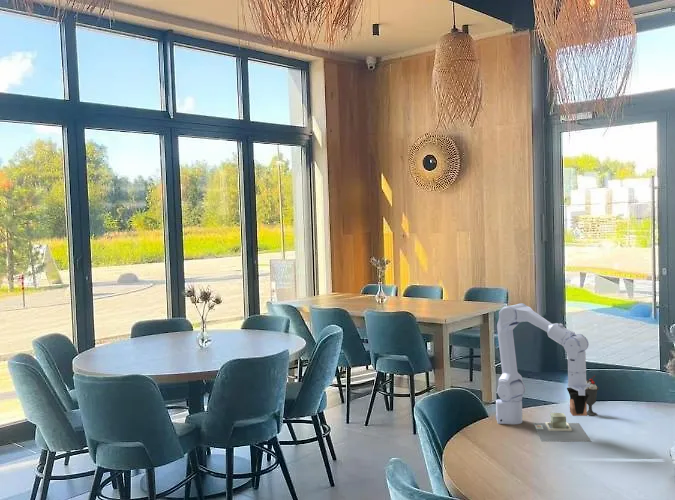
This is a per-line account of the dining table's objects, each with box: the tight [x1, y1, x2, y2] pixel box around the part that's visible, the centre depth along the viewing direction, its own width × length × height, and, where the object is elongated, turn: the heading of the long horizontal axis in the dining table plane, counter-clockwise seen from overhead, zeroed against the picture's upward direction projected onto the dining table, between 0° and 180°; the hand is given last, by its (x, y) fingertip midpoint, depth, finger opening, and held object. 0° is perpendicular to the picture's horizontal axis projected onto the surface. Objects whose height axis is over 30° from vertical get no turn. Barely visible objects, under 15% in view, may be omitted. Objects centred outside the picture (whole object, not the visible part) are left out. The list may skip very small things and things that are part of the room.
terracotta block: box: [569, 398, 588, 417], centre depth 220 cm, size 4×4×4 cm
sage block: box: [549, 412, 567, 429], centre depth 231 cm, size 4×4×4 cm
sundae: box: [585, 375, 600, 417], centre depth 247 cm, size 7×7×15 cm
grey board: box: [532, 421, 592, 443], centre depth 226 cm, size 16×20×1 cm
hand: (578, 411), depth 220 cm, fingers closed on terracotta block, 4 cm apart
